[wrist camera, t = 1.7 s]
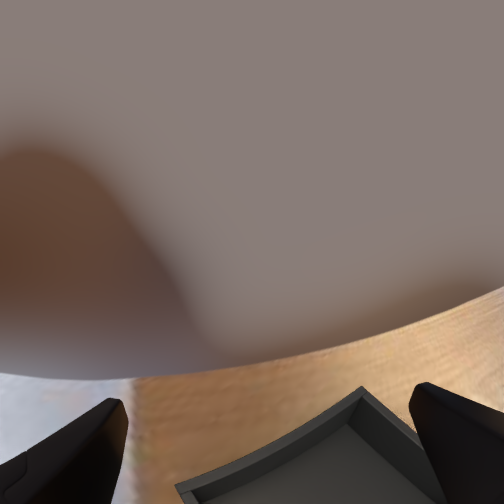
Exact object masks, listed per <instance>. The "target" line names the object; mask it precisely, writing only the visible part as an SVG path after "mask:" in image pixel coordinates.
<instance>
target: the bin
mask: <svg viewBox="0 0 504 504" xmlns="http://www.w3.org/2000/svg"><path fill="white" fill-rule="evenodd" d="M175 488H176V489H177V491H178V493H179V494H180V497H181V498H182V500H183V502H184V504H448V502H447V500H446V498H445V495H444V493H443V491H442V488H441V486H440V484H439V481H438V479H437V477H436V475H435V473H434V470H433V468H432V466H431V464H430V462H429V459H428V457H427V455H426V453H425V451H424V449H423V447H422V444H421V442H420V439H419V436H418V434H417V433H416V432H415V431H414V430H412V429H411V428H410V427H409V426H408V425H407V424H405V423H404V422H403V421H402V420H401V419H399V418H398V417H397V416H396V415H395V414H394V413H392V412H391V411H390V410H389V409H388V408H387V407H385V406H384V405H383V404H382V403H381V402H380V401H378V400H377V399H376V398H375V397H374V396H373V395H372V394H370V393H369V392H368V391H367V390H366V389H365V388H364V387H362V386H360V387H359V388H358V389H356V390H355V391H354V392H352V393H351V394H349V395H348V396H347V397H345V398H344V399H342V400H341V401H339V402H338V403H336V404H335V405H333V406H332V407H331V408H329V409H327V410H326V411H324V412H323V413H321V414H320V415H318V416H317V417H315V418H313V419H312V420H310V421H309V422H307V423H305V424H304V425H302V426H300V427H299V428H297V429H295V430H294V431H292V432H290V433H288V434H287V435H285V436H283V437H281V438H279V439H277V440H276V441H274V442H272V443H270V444H268V445H266V446H264V447H262V448H260V449H258V450H256V451H254V452H252V453H250V454H248V455H246V456H244V457H242V458H240V459H238V460H235V461H233V462H231V463H229V464H227V465H224V466H222V467H220V468H217V469H215V470H212V471H210V472H207V473H205V474H202V475H200V476H197V477H195V478H192V479H189V480H186V481H184V482H181V483H178V484H175Z"/></svg>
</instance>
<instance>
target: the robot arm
mask: <svg viewBox="0 0 504 504" xmlns="http://www.w3.org/2000/svg"><path fill="white" fill-rule="evenodd" d="M409 411H410V414H411V417H412V419H413V422H414V425H415V428H416V431H417V433H418V436H419V439H420V442H421V444H422V447H423V449H424V451H425V453H426V455H427V457H428V459H429V462H430V464H431V466H432V468H433V470H434V473H435V475H436V477H437V479H438V481H439V484H440V486H441V488H442V491H443V493H444V495H445V498H446V500H447V502H448V504H504V413H503V412H500V411H498V410H495V409H492V408H490V407H487V406H485V405H482V404H480V403H477V402H474V401H472V400H470V399H467V398H465V397H462V396H460V395H457V394H455V393H452V392H450V391H448V390H445V389H443V388H441V387H438V386H436V385H434V384H431V383H429V382H424V383H420V384H417V385H416V386H415V388H414V391H413V394H412V396H411V399H410V401H409ZM127 430H128V417H127V414H126V411H125V408H124V405H123V402H122V401H121V400H120V399H114V398H107V399H106V400H104V401H103V402H101V403H100V404H98V405H97V406H95V407H94V408H92V409H91V410H89V411H88V412H86V413H85V414H83V415H81V416H80V417H78V418H77V419H75V420H74V421H72V422H71V423H69V424H68V425H66V426H65V427H63V428H61V429H60V430H58V431H57V432H55V433H54V434H52V435H50V436H49V437H47V438H46V439H44V440H42V441H41V442H39V443H38V444H36V445H34V446H33V447H31V448H30V449H28V450H27V451H24V452H23V453H21V454H20V455H18V456H16V457H14V458H13V459H11V460H9V461H7V462H5V463H3V464H1V465H0V504H111V501H112V498H113V494H114V490H115V487H116V483H117V480H118V476H119V473H120V469H121V465H122V460H123V454H124V447H125V442H126V436H127Z"/></svg>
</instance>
